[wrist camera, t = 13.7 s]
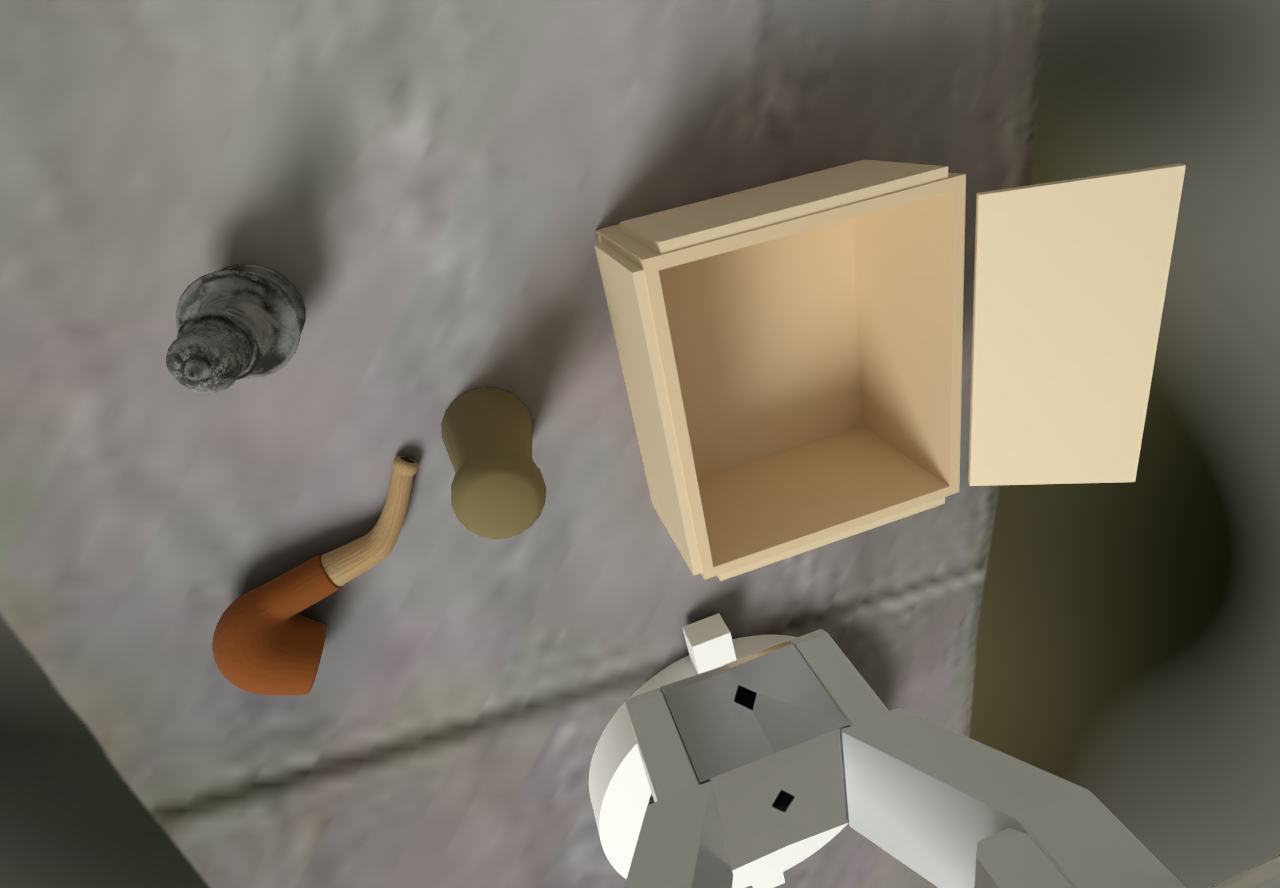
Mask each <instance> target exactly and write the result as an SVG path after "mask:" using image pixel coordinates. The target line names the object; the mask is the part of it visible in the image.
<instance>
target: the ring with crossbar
mask: <svg viewBox="0 0 1280 888" xmlns="http://www.w3.org/2000/svg"><path fill="white" fill-rule="evenodd" d="M682 628H683V632H684V636H685V640H686V644H687V647H688V651H689V655H688V656H686V657H684V658H682V659H680V660H678V661H676V662H675V663H673V664H671V665H670V666H668V667H666V668H665V669H663V670H662V671H660V672H659V673H658V674H656V675H655V676H653V677H652V678H651V679H649V680H648V681H647V682H646V683H644V684H643V685H642V686H641V687H640V688H639V689H638V690H636V691H635V692H634V693H633V694H632V695H631V696H630V697H629V698H631V697H634V696H637V695H640V694H643V693H646V692H649V691H652V690H655V689H658V688H659V689H660V687H662V686H665V685H668V684H671V683H674V682H677V681H680V680H683V679H686V678H689V677H692V676H695V675H698V674H701V673H704V672H707V671H710V670H713V669H716V668H719V667H722V666H724V665H725V664H728V663H730V662H733V661H736V660H738V659H741V658H743V657H746V656H749V655H751V654H754V653H757V652H759V651H762V650H765V649H767V648H770V647H773V646H775V645H778V644H781V643H783V642H789V640H792V639H795V638H797V637H794V636H787V635H755V636H748V637H741V638H736V639H732V637H731V633H730V631H729V629H728V627H727V626H726V624H725V622H724V621H723V619H722V617H721V616H720V614H719V613H718V614H715V615H713V616H710V617H707V618H705V619H702V620H699V621H697V622H694V623H692V624H689V625H686V626H684V627H682ZM589 791H590V797H591V802H592V806H593V810H594V814H595V819H596V823H597V827H598V831H599V835H600V840H601V844H602V847H603V850H604V853H605V855H606V857H607V859H608V860H609V862H610V863H611V865H612V866H613V867H614V868H615V870H616V871H617V872H618V873H619V874H620V875H622V876H623V877H624V878H625V879H627V876H628V873H629V869H630V865H631V862H632V858H633V855H634V851H635V848H636V844H637V841H638V837H639V833H640V830H641V826H642V823H643V819H644V816H645V812H646V808H647V805H648V803H649V799H650V796H651V790H650V786H649V783H648V780H647V776H646V773H645V769H644V766H643V763H642V759H641V756H640V752H639V749H638V745H637V742H636V738H635V735H634V731H633V728H632V724H631V721H630V717H629V714H628V710H627V707H626V702H625V703H624V704H623V705H622V706H621V707H620V708H619V710H618V711H617V712H616V713H615V715H614V716H613V717H612V719H611V720H610V722H609V723H608V725H607V726H606V728H605V730H604V731H603V733H602V735H601V737H600V739H599V741H598V744H597V746H596V748H595V751H594V754H593V757H592V761H591V766H590V772H589ZM847 824H848V823H846V824H844V825H841V826H838V827H836V828H833V829H830V830H828V831H825V832H822V833H820V834H817V835H815V836H812V837H809V838H807V839H804V840H801V841H799V842H796V843H793V844H791V845H788V846H786V847H784V848H782V849H779V850H777V851H775V852H773V853H770V854H768V855H766V856H764V857H761V858H759V859H757V860H755V861H753V862H750V863H748V864H746V865H744V866H741V867H739V868H737V869H735V870H732V872H733V882H732V888H745V887H748V886H751V885H752V887H753V888H774V887H776V886H778V885H781V884H783V883H785V880H784V875H783V872H784V871H786V870H787V869H789V868H791V867H793V866H795V865H796V864H798V863H800V862H801V861H803V860H804V859H806V858H807V857H809V856H810V855H812V854H813V853H815V852H816V851H817V850H819V849H820V848H821V847H823V846H824V845H825V844H826V843H828V842H829V841H830V840H831V839H832V838H833V837H834V836H836V835H837V834H838V833H839V832H840V831H841V830H842V829H843V828H844V827H845V826H846V825H847Z"/></svg>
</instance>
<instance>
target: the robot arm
mask: <svg viewBox="0 0 1280 888" xmlns="http://www.w3.org/2000/svg"><path fill="white" fill-rule="evenodd" d="M625 702H626V707H627V710H628V714H629V717H630V721H631V724H632V728H633V731H634V735H635V738H636V742H637V745H638V749H639V752H640V756H641V759H642V763H643V766H644V769H645V773H646V776H647V780H648V783H649V786H650V790H651V793H652V796H653V799H654V803H652V804H650V805H647V808H646V812H645V816H644V819H643V823H642V826H641V830H640V833H639V837H638V841H637V844H636V848H635V851H634V855H633V858H632V862H631V865H630V869H629V873H628V876H627V880H626V883H625V887H624V888H732V882H733V872H732V870H735V869H737V868H739V867H741V866H744V865H746V864H748V863H750V862H753V861H755V860H757V859H759V858H761V857H764V856H766V855H768V854H770V853H773V852H775V851H777V850H779V849H782V848H784V847H786V846H788V845H791V844H793V843H796V842H799V841H801V840H804V839H807V838H809V837H812V836H815V835H817V834H820V833H822V832H825V831H828V830H830V829H833V828H836V827H838V826H841V825H844V824H846V823H849V826H850V827H852V828H853V829H855V830H856V831H857V832H859V833H860V834H862V835H863V836H865V837H866V838H868V839H869V840H870V841H872V842H873V843H875V844H876V845H878V846H879V847H881V848H882V849H883V850H885V851H886V852H888V853H889V854H891V855H892V856H893V857H895V858H896V859H898V860H899V861H901V862H902V863H904V864H905V865H906V866H908V867H909V868H911V869H912V870H914V871H915V872H917V873H918V874H919V875H921V876H922V877H924V878H925V879H927V880H928V881H930V882H931V883H932V884H934V885H935V886H937V887H938V888H1185V887H1184V886H1183V885H1182V884H1181V883H1180V882H1179V881H1178V880H1177V879H1176V878H1175V877H1174V876H1173V875H1172V874H1171V873H1170V872H1169V871H1168V870H1167V869H1166V868H1165V867H1164V866H1163V865H1162V864H1161V863H1160V862H1159V861H1158V860H1157V859H1156V858H1155V857H1154V856H1153V855H1152V853H1151V852H1150V851H1149V850H1148V849H1146V847H1145V846H1144V845H1143V844H1142V843H1141V842H1140V841H1139V840H1138V839H1137V838H1136V837H1135V836H1134V835H1133V834H1132V833H1131V832H1130V831H1129V830H1128V829H1127V828H1126V827H1125V826H1124V825H1123V824H1122V823H1121V822H1120V821H1119V820H1118V819H1117V818H1116V817H1115V816H1114V815H1113V814H1112V813H1111V812H1110V811H1109V810H1108V809H1107V808H1106V807H1105V806H1104V805H1103V804H1102V803H1101V802H1100V801H1099V800H1098V799H1097V798H1096V797H1095V796H1094V795H1093V794H1092V793H1091V792H1090V791H1089V790H1087V789H1085V788H1082V787H1080V786H1078V785H1076V784H1073V783H1071V782H1069V781H1066V780H1064V779H1062V778H1060V777H1057V776H1055V775H1052V774H1050V773H1048V772H1046V771H1043V770H1041V769H1039V768H1037V767H1034V766H1032V765H1030V764H1027V763H1025V762H1023V761H1020V760H1018V759H1016V758H1013V757H1011V756H1009V755H1007V754H1004V753H1002V752H1000V751H998V750H995V749H993V748H991V747H988V746H986V745H984V744H982V743H979V742H977V741H975V740H972V739H970V738H968V737H966V736H963V735H961V734H959V733H956V732H954V731H952V730H949V729H947V728H945V727H943V726H940V725H938V724H936V723H933V722H931V721H929V720H927V719H924V718H922V717H920V716H917V715H915V714H913V713H910V712H908V711H906V710H904V709H901V708H896V709H893V710H891V711H889V710H888V709H887V708H886V706H885V705H884V704H883V703H882V701H881V700H880V699H879V698H878V696H877V695H876V694H875V692H874V691H873V690H872V689H871V687H870V686H869V685H868V684H867V682H866V681H865V680H864V678H863V677H862V676H861V675H860V673H859V672H858V671H857V670H856V668H855V667H854V666H853V665H852V663H851V662H850V661H849V659H848V658H847V657H846V656H845V654H844V653H843V652H842V651H841V649H840V648H839V647H838V645H837V644H836V643H835V642H834V640H833V639H832V638H831V637H830V635H829V634H828V633H827V632H825V631H824V630H822V629H819V630H816V631H814V632H811V633H808V634H806V635H803V636H800V637H797V638H795V639H792V640H789V642H783V643H781V644H778V645H775V646H773V647H770V648H767V649H765V650H762V651H759V652H757V653H754V654H751V655H749V656H746V657H743V658H741V659H738V660H736V661H733V662H730V663H728V664H725V665H724V666H722V667H719V668H716V669H713V670H710V671H707V672H704V673H701V674H698V675H695V676H692V677H689V678H686V679H683V680H680V681H677V682H674V683H671V684H668V685H665V686H662V687H660V689H659V688H658V689H655V690H652V691H649V692H646V693H643V694H640V695H637V696H634V697H631V698H628V699H625ZM1210 888H1280V855H1278V856H1276V857H1274V858H1272V859H1269V860H1268V861H1265V862H1263V863H1261V864H1259V865H1257V866H1255V867H1253V868H1250V869H1248V870H1246V871H1244V872H1242V873H1240V874H1237V875H1235V876H1233V877H1231V878H1229V879H1227V880H1225V881H1223V882H1220V883H1218V884H1216V885H1214V886H1212V887H1210Z"/></svg>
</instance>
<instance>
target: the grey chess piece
mask: <svg viewBox="0 0 1280 888" xmlns="http://www.w3.org/2000/svg"><path fill="white" fill-rule="evenodd" d="M304 321H305V310H304V307H303V303H302V299H301V298H300V296H299V294H298V292H297V291H296V289H295V288H294V287H293V286H292V285H291V283H290V282H289V281H288V280H287V279H286V278H284V277H283V276H281V275H280V274H278V273H277V272H275V271H273V270H270V269H268V268H265V267H262V266H257V265H250V264H244V265H234V266H232V267H229V268H226V269H224V270H222V271H216V272H212V273H210V274H207V275H204V276H202V277H200V278H198V279H197V280H196V281H194V282H193V283H192V284H190V285H189V286H188V287H187V288H186V290H185V291H184V293H183V294H182V296H181V297H180V299H179V303H178V306H177V310H176V322H177V328H178V335H177V339H176V340H175V341H173V343H172V344H171V346H170V347H169V349H168V352H167V356H166V364H167V368H168V370H169V373H170V374H171V376H172V377H173V378H174V380H175V381H176V382H178V383H179V384H180V385H181V386H183V387H185V388H187V389H188V390H191V391H194V392H197V393H205V394H210V393H217V392H219V391H222V390H225V389H227V388H228V387H230V386H231V385H232V384H233V383H234V382H235V381H236V380H239V379H242V378H246V379H250V378H258V377H264V376H266V375H269V374H272V373H274V372H277V371H278V370H279V369H281V368H282V367H283V366H285V365H286V364H287V363H288V362H289V361H290V359H291V358H292V357H293V355H294V354H295V353H296V350H297V347H298V344H299V341H300V334H301V331H302V328H303V325H304Z"/></svg>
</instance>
